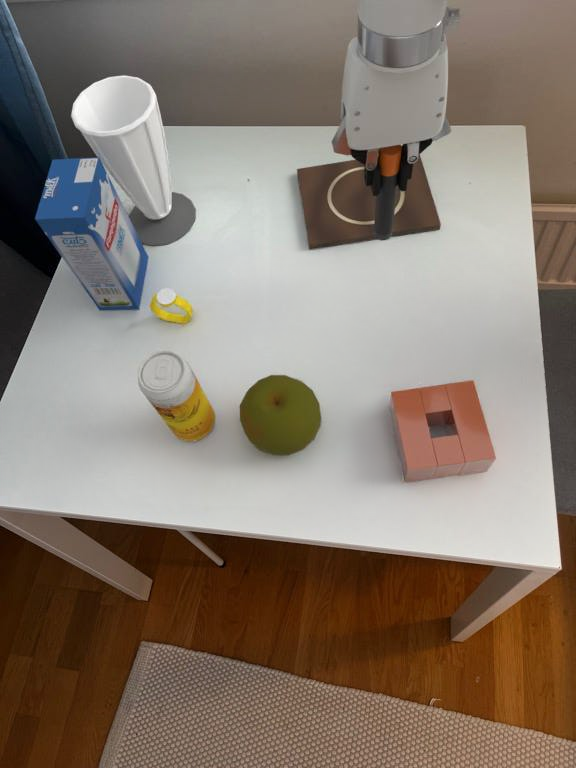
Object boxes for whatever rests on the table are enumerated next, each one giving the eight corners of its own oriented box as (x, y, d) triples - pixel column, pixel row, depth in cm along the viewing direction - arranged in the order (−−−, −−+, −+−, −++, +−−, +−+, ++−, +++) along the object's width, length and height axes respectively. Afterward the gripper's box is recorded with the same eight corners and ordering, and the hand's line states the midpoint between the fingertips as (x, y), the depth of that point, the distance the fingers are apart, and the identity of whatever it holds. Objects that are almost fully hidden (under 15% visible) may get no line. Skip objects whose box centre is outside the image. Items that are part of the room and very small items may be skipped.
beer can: (167, 441, 77) (128, 393, 64) (178, 399, 80) (142, 345, 66) (211, 446, 76) (180, 398, 63) (220, 404, 79) (193, 349, 65)
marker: (390, 224, 76) (399, 137, 64) (394, 239, 75) (404, 153, 63) (371, 227, 76) (376, 141, 64) (375, 242, 75) (381, 157, 63)
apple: (338, 430, 75) (335, 394, 65) (284, 482, 73) (274, 453, 63) (284, 383, 79) (275, 342, 69) (232, 431, 77) (215, 396, 67)
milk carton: (110, 258, 92) (52, 159, 74) (148, 256, 91) (99, 156, 73) (99, 311, 88) (34, 219, 70) (139, 310, 87) (83, 217, 69)
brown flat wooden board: (417, 155, 95) (418, 148, 94) (439, 229, 88) (441, 223, 87) (297, 174, 96) (296, 167, 95) (309, 249, 89) (308, 243, 87)
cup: (168, 256, 91) (118, 145, 72) (113, 230, 94) (51, 118, 75) (210, 206, 95) (173, 88, 75) (155, 183, 98) (107, 65, 79)
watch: (154, 324, 86) (141, 301, 80) (160, 308, 87) (148, 285, 81) (193, 329, 84) (182, 306, 79) (198, 313, 86) (188, 290, 80)
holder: (466, 396, 75) (473, 379, 71) (487, 471, 71) (496, 458, 66) (388, 408, 76) (390, 391, 71) (404, 482, 71) (407, 470, 67)
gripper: (477, -9, 53) (446, 151, 70) (304, 21, 54) (314, 173, 70) (502, 41, 50) (463, 197, 66) (316, 73, 50) (324, 220, 67)
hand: (387, 183), depth 68 cm, fingers closed on marker, 2 cm apart
